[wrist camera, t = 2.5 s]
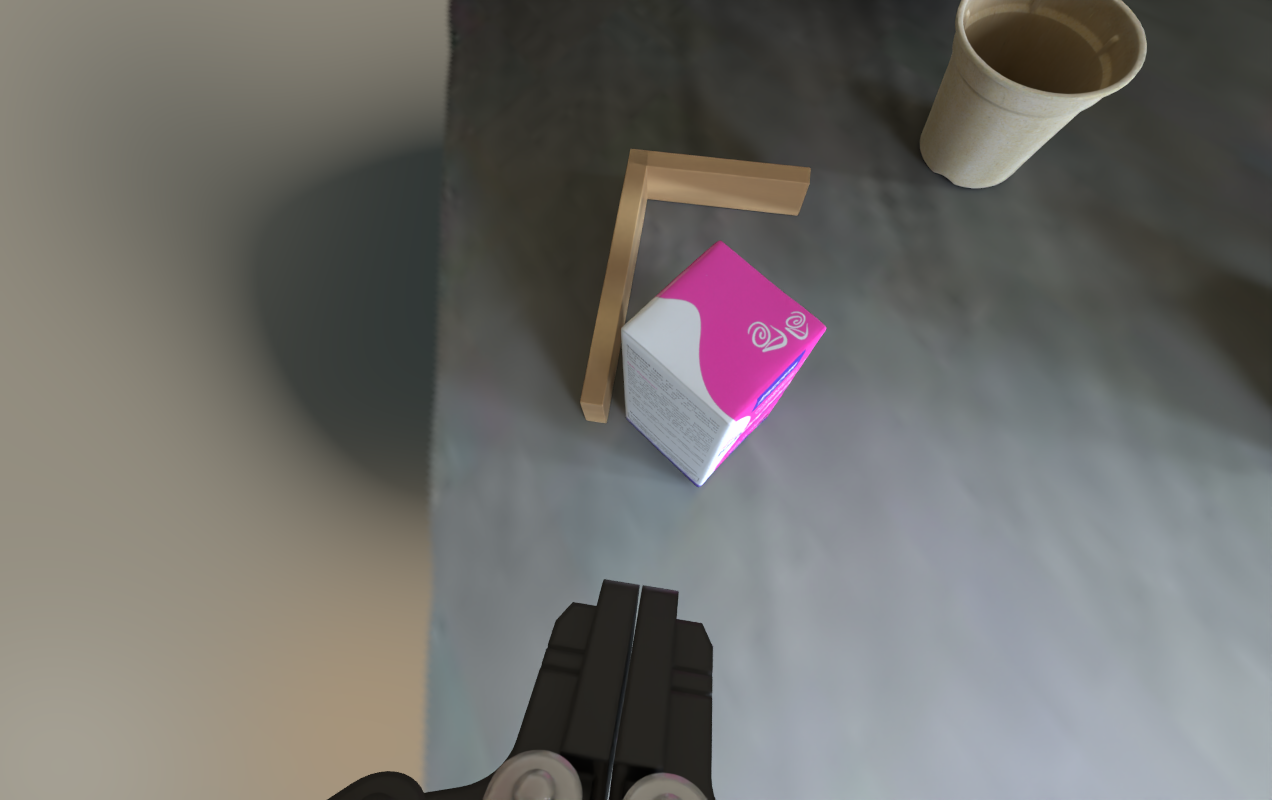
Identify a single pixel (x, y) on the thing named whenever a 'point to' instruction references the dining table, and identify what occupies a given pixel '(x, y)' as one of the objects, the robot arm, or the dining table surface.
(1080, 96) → the flower pot
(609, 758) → the robot arm
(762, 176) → the corner fence
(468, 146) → the dining table surface
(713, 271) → the supplement box
